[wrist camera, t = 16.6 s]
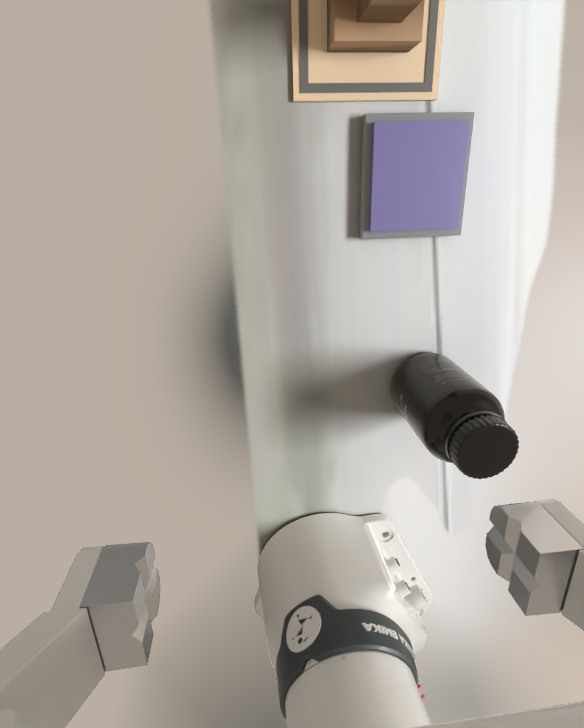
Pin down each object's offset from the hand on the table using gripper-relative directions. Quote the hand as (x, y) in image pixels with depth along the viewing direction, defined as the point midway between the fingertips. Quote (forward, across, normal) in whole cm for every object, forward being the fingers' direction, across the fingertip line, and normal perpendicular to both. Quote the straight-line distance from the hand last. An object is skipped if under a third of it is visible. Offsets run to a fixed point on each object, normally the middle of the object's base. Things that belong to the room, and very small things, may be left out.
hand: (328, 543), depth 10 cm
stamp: (+29, +8, +20) cm, 36 cm away
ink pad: (+29, +12, +8) cm, 33 cm away
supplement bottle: (+29, +15, -10) cm, 34 cm away
